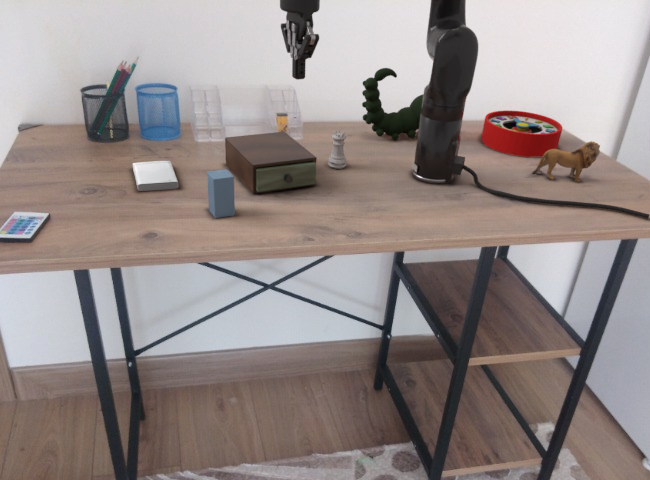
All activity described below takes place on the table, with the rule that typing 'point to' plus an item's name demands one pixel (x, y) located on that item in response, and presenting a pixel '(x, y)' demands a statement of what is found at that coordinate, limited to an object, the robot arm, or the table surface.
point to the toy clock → (520, 133)
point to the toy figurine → (392, 122)
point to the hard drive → (154, 175)
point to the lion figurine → (570, 159)
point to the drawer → (285, 176)
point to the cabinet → (263, 155)
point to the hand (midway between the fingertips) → (298, 78)
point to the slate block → (221, 193)
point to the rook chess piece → (337, 151)
